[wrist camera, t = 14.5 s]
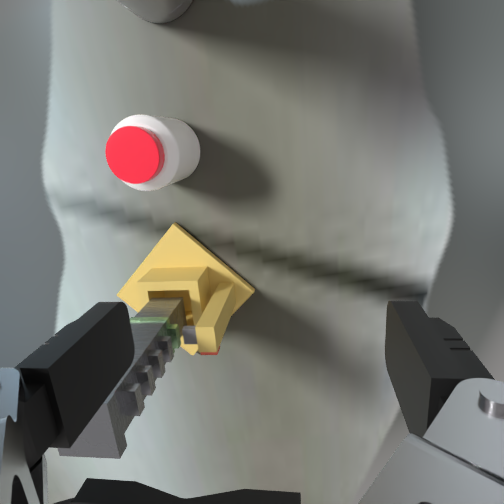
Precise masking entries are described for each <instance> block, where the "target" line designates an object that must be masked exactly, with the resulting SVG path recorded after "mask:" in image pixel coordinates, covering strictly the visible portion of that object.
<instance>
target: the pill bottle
mask: <svg viewBox="0 0 504 504" xmlns="http://www.w3.org/2000/svg"><path fill="white" fill-rule="evenodd" d="M106 159H107V162H108V165H109V167H110V169H111V170H112V172H113V173H114V174H115V175H116V176H117V177H118V178H119V179H121V180H122V181H123V182H124V183H125V184H127V185H128V186H130V187H132V188H134V189H137V190H141V191H154V190H157V189H161V188H163V187H166V186H168V185H171V184H173V183H176V182H178V181H181V180H183V179H185V178H187V177H189V176H190V175H191V174H192V173H193V172H194V170H195V169H196V167H197V165H198V163H199V159H200V144H199V141H198V138H197V136H196V134H195V132H194V131H193V130H192V129H191V127H190V126H188V125H187V124H186V123H184V122H183V121H181V120H179V119H175V118H169V117H160V116H151V115H141V114H140V115H132V116H130V117H127V118H125V119H124V120H122V121H120V122H119V123H118V124H117V125H116V126H115V128H114V130H113V131H112V133H111V136H110V137H109V139H108V141H107V144H106Z"/></svg>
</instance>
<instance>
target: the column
mask: <svg viewBox="0 0 504 504" xmlns="http://www.w3.org/2000/svg"><path fill="white" fill-rule="evenodd" d="M130 324H131V329H132V335H133V340H134V346H135V354H134V359H133V362H132V364H131V366H130V367H129V369H128V370H127V371H126V373H125V374H124V376H123V377H122V378H121V380H120V381H119V382H118V384H117V385H116V386H115V388H114V389H113V391H112V392H111V393H110V395H109V396H108V397H107V399H106V400H105V401H104V403H103V404H102V405H101V407H100V408H99V410H98V411H97V412H96V414H95V415H94V416H93V418H92V419H91V420H90V422H89V423H88V425H87V426H86V427H85V429H84V430H83V431H82V433H81V434H80V435H79V437H78V438H77V439H76V441H75V442H74V444H73V445H72V446H71V448H58V451H59V454H60V456H76V457H96V458H117V459H120V458H121V456H122V454H123V452H124V451H125V449H126V447H127V443H126V439H125V435H124V433H125V431H126V430H127V428H128V426H129V424H130V423H131V421H132V419H133V418H134V416H140V415H141V413H142V411H143V409H144V408H145V406H144V402H143V401H144V399H145V397H146V396H147V395H152V394H153V392H154V390H155V388H156V387H155V380H156V379H157V378H162V376H163V375H164V373H165V366H164V365H165V364H166V362H171V361H172V359H173V357H174V352H175V350H174V348H179V347H180V345H181V336H182V335H183V332H182V329H183V327H184V326H187V320H186V314H185V307H184V300H183V297H168V298H151V299H150V300H149V302H148V303H147V304H146V305H145V306H144V307H143V308H142V309H141V310H140V311H139V313H138V314H137V315H136V316H135V317H131V318H130Z"/></svg>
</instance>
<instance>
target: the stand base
mask: <svg viewBox="0 0 504 504" xmlns="http://www.w3.org/2000/svg"><path fill="white" fill-rule="evenodd" d="M254 291H255V289H254V288H253V287H252V286H251V285H250V284H248V283H247V282H246V281H245V280H244V279H242V278H241V277H240V276H239V275H238V274H236V273H235V272H234V271H233V270H232V269H230V268H229V267H228V266H227V265H226V264H225V263H223V262H222V261H221V260H220V259H219V258H217V257H216V256H215V255H214V254H213V253H211V252H210V251H209V250H208V249H207V248H205V247H204V246H203V245H202V244H201V243H200V242H198V241H197V240H196V239H195V238H194V237H192V236H191V235H190V234H189V233H188V232H186V231H185V230H184V229H183V228H182V227H181V226H179V225H178V224H177V223H176V222H175V223H174V224H173V225H172V226H171V227H170V228H169V230H168V231H167V232H166V234H165V235H164V236H163V237H162V239H161V240H160V241H159V242H158V244H157V245H156V246H155V247H154V249H153V250H152V251H151V252H150V254H149V255H148V256H147V257H146V259H145V260H144V261H143V263H142V264H141V265H140V266H139V268H138V269H137V270H136V271H135V273H134V274H133V275H132V276H131V278H130V279H129V280H128V281H127V283H126V284H125V285H124V286H123V288H122V289H121V290H120V291H119V293H118V294H117V296H118V297H120V298H121V299H122V300H123V301H125V302H126V303H127V304H128V305H130V306H131V307H132V308H133V309H135V310H136V311H137V312H138V313H139V311H140V310H141V309H142V308H143V307H144V306H145V305H146V304H147V303H148V302H149V300H150V299H151V298H168V297H183V300H184V307H185V314H186V320H187V326H184V327H183V329H182V332H183V335H182V336H181V345H180V346H181V347H182V348H184V349H185V350H186V351H187V352H189V353H190V354H191V355H192V356H193V355H194V354H195V353H196V352H197V351H199V352H201V355H217V354H218V351H219V349H220V343H221V341H222V338H223V336H224V333H225V330H226V328H227V325H228V323H229V320H230V317H231V316H232V315H233V314H234V312H235V311H236V310H237V309H238V308H239V307H240V306H241V305H242V304H243V303H244V302H245V301H246V300H247V299H248V298H249V297H250V296H251V295H252V294H253V293H254Z"/></svg>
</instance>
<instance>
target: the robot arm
mask: <svg viewBox="0 0 504 504" xmlns="http://www.w3.org/2000/svg"><path fill="white" fill-rule="evenodd" d="M116 1H118V2H119V3H120V4H122V5H123V6H124V7H126V8H127V9H129V10H130V11H132V12H133V13H134V14H136V15H137V16H139V17H140V18H142V19H144V20H146V21H149V22H152V23H166V22H170V21H172V20H174V19H176V18H178V17H179V16H181V15H182V14H183V13H184V12H185V11H186V10H187V8H188V7H189V6H190V4H191V2H192V0H116ZM134 354H135V346H134V340H133V335H132V329H131V324H130V319H129V313H128V309H127V306H126V304H125V303H123V302H99V303H97V304H96V305H94V306H93V307H92V308H91V309H90V310H88V311H87V312H86V313H85V314H84V315H82V316H81V317H80V318H79V319H78V320H76V321H74V322H72V323H70V324H68V325H66V326H65V327H64V328H62V329H61V330H60V331H59V332H57V333H56V334H55V337H51V338H50V339H49V340H48V341H47V342H45V345H42V346H40V347H39V348H38V349H37V350H36V351H34V352H33V353H32V354H31V355H29V356H28V357H27V358H26V359H24V360H23V361H22V362H21V363H20V364H18V365H17V366H16V367H15V368H0V504H48V478H47V462H46V458H45V455H44V453H45V451H46V450H47V449H48V448H49V447H53V448H71V446H72V445H73V444H74V442H75V441H76V439H77V438H78V437H79V435H80V434H81V433H82V431H83V430H84V429H85V427H86V426H87V425H88V423H89V422H90V420H91V419H92V418H93V416H94V415H95V414H96V412H97V411H98V410H99V408H100V407H101V405H102V404H103V403H104V401H105V400H106V399H107V397H108V396H109V395H110V393H111V392H112V391H113V389H114V388H115V386H116V385H117V384H118V382H119V381H120V380H121V378H122V377H123V376H124V374H125V373H126V371H127V370H128V369H129V367H130V366H131V364H132V362H133V359H134ZM385 359H386V366H387V371H388V374H389V376H390V379H391V382H392V385H393V388H394V390H395V393H396V396H397V399H398V402H399V404H400V407H401V410H402V413H403V416H404V418H405V421H406V424H407V427H408V429H409V432H410V434H408V435H407V436H406V437H405V438H404V440H403V441H402V442H401V444H400V445H399V447H398V448H397V449H396V451H395V452H394V454H393V455H392V457H391V458H390V459H389V461H388V462H387V463H386V465H385V466H384V468H383V469H382V471H381V472H380V473H379V475H378V476H377V477H376V479H375V480H374V482H373V483H372V485H371V486H370V487H369V489H368V490H367V491H366V493H365V494H364V496H363V497H362V498H361V500H360V501H359V503H358V504H504V382H501V381H497V380H495V379H494V378H493V377H492V375H491V374H490V373H489V372H488V370H487V369H486V368H485V366H484V365H483V364H482V363H481V361H480V360H479V359H478V357H477V356H476V355H475V354H474V352H473V351H471V350H470V347H469V346H468V345H467V343H466V342H465V341H463V338H462V337H461V336H460V334H459V333H458V332H457V330H456V329H455V328H454V327H452V326H451V325H450V324H448V323H446V322H445V321H443V320H441V319H440V318H429V317H428V316H427V314H426V313H425V311H424V310H423V308H422V307H421V305H420V304H419V302H418V301H389V302H388V305H387V317H386V339H385ZM54 504H301V495H300V493H296V492H282V491H267V490H252V489H241V490H236V491H230V492H224V493H218V494H213V495H207V496H201V497H195V498H188V499H184V498H179V497H177V496H174V495H171V494H168V493H166V492H163V491H160V490H158V489H155V488H152V487H149V486H147V485H144V484H141V483H139V482H135V481H120V480H106V479H91V478H87V479H86V480H85V482H84V484H83V485H82V487H81V488H80V490H79V492H78V493H77V495H76V497H75V498H72V499H67V500H64V501H60V502H57V503H54Z"/></svg>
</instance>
